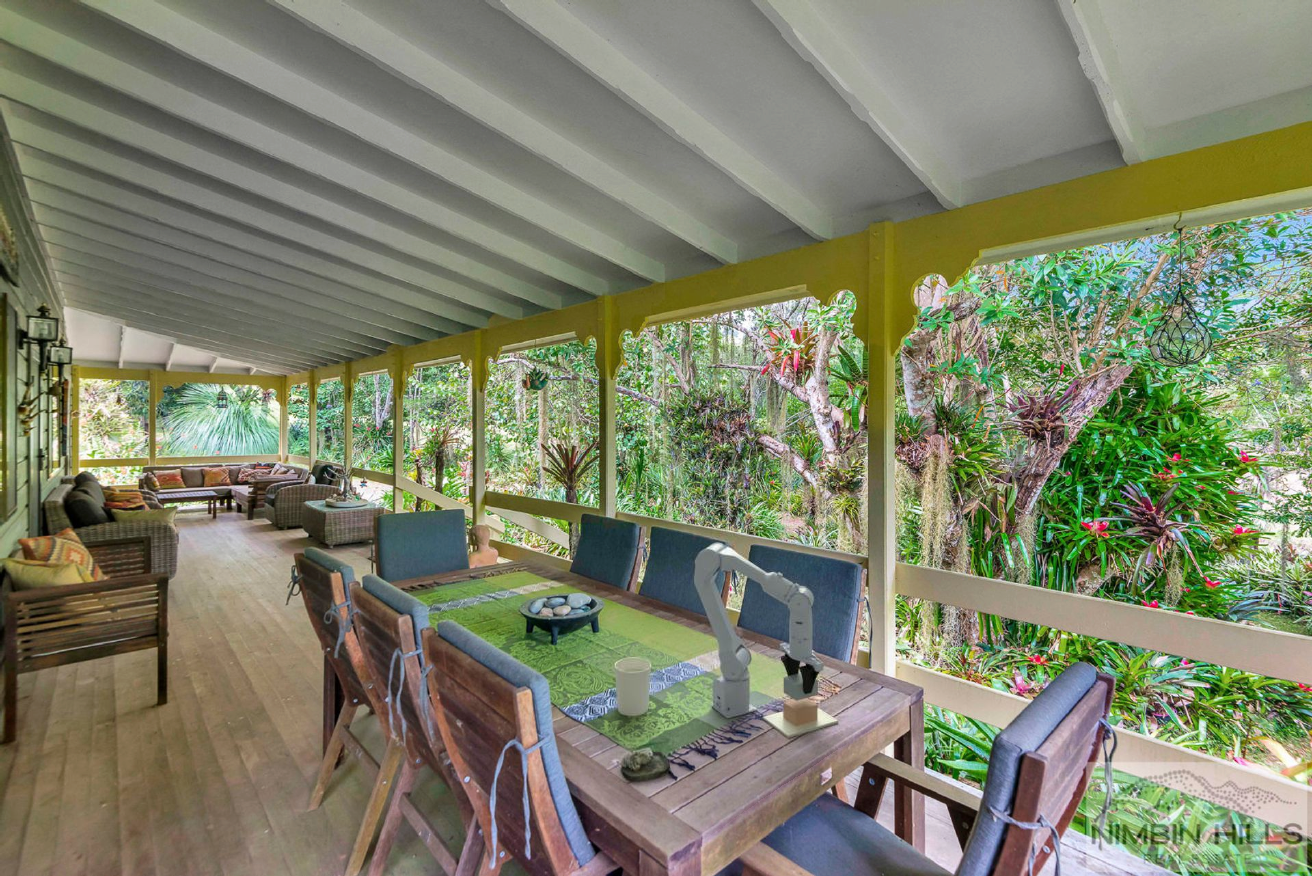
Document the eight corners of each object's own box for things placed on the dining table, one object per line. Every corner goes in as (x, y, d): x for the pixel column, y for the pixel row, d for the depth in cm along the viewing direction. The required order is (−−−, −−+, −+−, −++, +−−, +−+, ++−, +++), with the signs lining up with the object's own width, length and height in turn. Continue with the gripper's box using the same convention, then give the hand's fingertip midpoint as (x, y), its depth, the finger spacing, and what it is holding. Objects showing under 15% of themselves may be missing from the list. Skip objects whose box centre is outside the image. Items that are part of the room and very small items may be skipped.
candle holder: (609, 714, 153) (609, 669, 152) (622, 697, 162) (622, 655, 162) (644, 720, 150) (644, 674, 149) (655, 702, 159) (655, 659, 159)
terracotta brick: (795, 726, 146) (796, 710, 145) (783, 717, 150) (783, 702, 150) (817, 720, 149) (817, 704, 148) (804, 711, 153) (804, 696, 153)
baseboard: (788, 737, 141) (788, 735, 141) (763, 719, 150) (763, 716, 150) (837, 722, 148) (837, 720, 148) (811, 705, 157) (811, 703, 157)
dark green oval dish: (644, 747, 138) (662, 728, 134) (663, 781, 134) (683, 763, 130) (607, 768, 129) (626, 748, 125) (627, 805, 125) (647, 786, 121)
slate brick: (796, 700, 145) (796, 685, 145) (783, 692, 150) (783, 677, 150) (817, 694, 148) (817, 679, 148) (804, 686, 153) (804, 671, 153)
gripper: (832, 642, 144) (832, 696, 144) (794, 624, 157) (794, 674, 157) (810, 647, 141) (810, 703, 141) (773, 628, 154) (773, 679, 154)
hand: (800, 688), depth 149 cm, fingers closed on slate brick, 5 cm apart
